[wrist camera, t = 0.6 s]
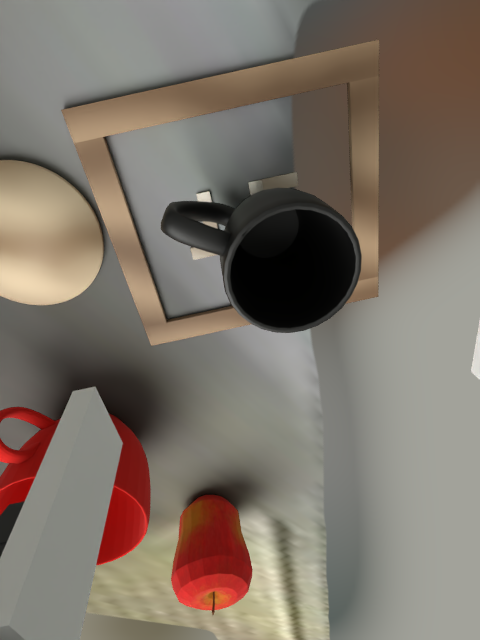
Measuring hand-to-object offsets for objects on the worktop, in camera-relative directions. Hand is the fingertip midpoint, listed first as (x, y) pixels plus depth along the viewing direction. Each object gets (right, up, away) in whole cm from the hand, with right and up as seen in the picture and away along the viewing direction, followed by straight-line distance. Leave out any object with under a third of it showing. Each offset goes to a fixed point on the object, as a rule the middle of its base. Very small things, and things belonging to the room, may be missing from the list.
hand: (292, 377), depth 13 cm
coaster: (-18, +8, +16) cm, 25 cm away
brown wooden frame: (-1, +10, +17) cm, 19 cm away
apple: (-6, -22, +35) cm, 41 cm away
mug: (-1, +10, +17) cm, 20 cm away
